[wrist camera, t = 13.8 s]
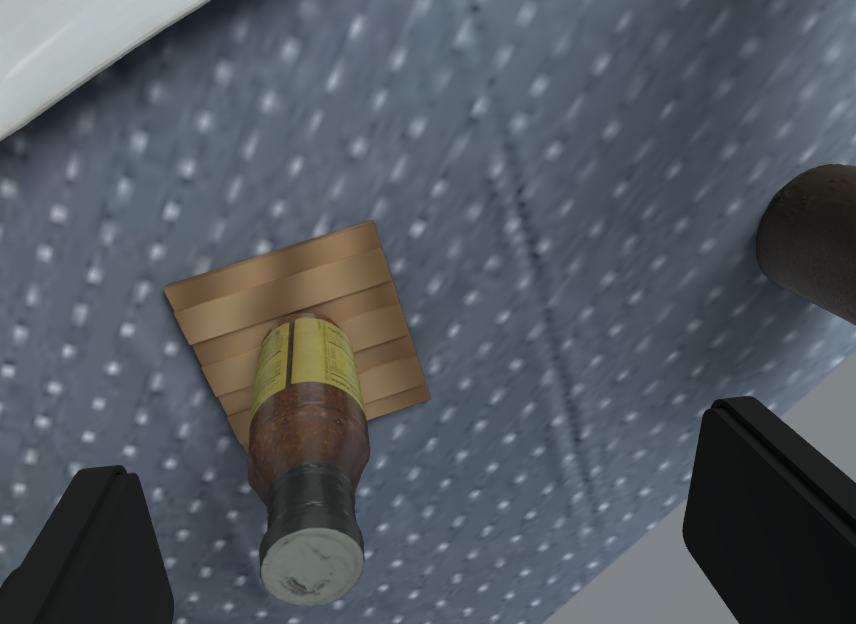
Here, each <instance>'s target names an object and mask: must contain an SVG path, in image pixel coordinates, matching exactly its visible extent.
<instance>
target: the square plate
mask: <svg viewBox="0 0 856 624" xmlns="http://www.w3.org/2000/svg"><path fill="white" fill-rule="evenodd" d="M209 1H211V0H0V141H1V140H3V139H4V138H6V137H7V136H9V135H11V134H13V133H14V132H15V131H17V130H19V129H21V128H22V127H24V126H25V125H27V124H28V123H29V122H30V121H31V120H33V119H34V118H36V117H38V116H39V115H40V114H42V113H43V112H44V111H46V110H47V109H48V108H50V107H51V106H53V105H54V104H56V103H57V102H58V101H60V100H61V99H63V98H64V97H66V96H67V95H69V94H70V93H71V92H73V91H74V90H76V89H77V88H78V87H80V86H81V85H83V84H84V83H86V82H87V81H89V80H90V79H91V78H93V77H94V76H95V75H97V74H98V73H100V72H101V71H103V70H105V69H106V68H108V67H109V66H111V65H112V64H113V63H115V62H116V61H117V60H119V59H121V58H122V57H123V56H124V55H126V54H127V53H129V52H130V51H132V50H133V49H135V48H136V47H138V46H139V45H141V44H142V43H144V42H146V41H147V40H149V39H150V38H152V37H154V36H155V35H157V34H158V33H160V32H161V31H163V30H164V29H166V28H167V27H169V26H171V25H172V24H174V23H176V22H177V21H179V20H180V19H182V18H184V17H185V16H187V15H189V14H190V13H192V12H194V11H195V10H197V9H198V8H200V7H202V6H203V5H205V4H206V3H208V2H209Z"/></svg>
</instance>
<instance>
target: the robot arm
mask: <svg viewBox="0 0 856 624" xmlns="http://www.w3.org/2000/svg"><path fill="white" fill-rule="evenodd" d="M682 532H683V538H684V542H685V544H686V547H687V549H688V550H689V552H690V553H691V555H692V556H693V558H694V559H695V561H696V562H697V564H698V565H699V566H700V568H701V569H702V571H703V572H704V574H705V575H706V576H707V578H708V579H709V581H710V582H711V584H712V585H713V587H714V588H715V589H716V591H717V592H718V594H719V595H720V596H721V598H722V599H723V601H724V602H725V604H726V605H727V607H728V608H729V610H730V611H731V613H732V614H733V615H734V617H735V618H736V620H737V621H738V623H739V624H856V483H855V482H854V481H853V480H852V479H850V478H849V477H848V476H847V475H846V474H845V473H843V472H842V471H841V470H840V469H839V468H837V467H836V466H835V465H834V464H833V463H831V462H830V461H829V460H828V459H827V458H826V457H824V456H823V455H822V454H821V453H820V452H818V451H817V450H816V449H815V448H814V447H812V446H811V445H810V444H809V443H808V442H807V441H806V440H804V439H803V438H802V437H801V436H800V435H798V434H797V433H796V432H795V431H794V430H793V429H791V428H790V427H789V426H788V425H787V424H785V423H784V422H783V421H782V420H781V419H780V418H778V417H777V416H776V415H775V414H774V413H772V412H771V411H770V410H769V409H768V408H767V407H765V406H764V405H763V404H762V403H761V402H759V401H758V400H757V399H755V398H754V397H750V396H744V397H735V398H726V399H718V400H716V401H714V403H713V404H712V406H711V409H708V410H706V411H705V412H704V414H703V417H702V423H701V428H700V434H699V439H698V445H697V451H696V456H695V462H694V467H693V473H692V478H691V484H690V489H689V495H688V501H687V506H686V511H685V517H684V522H683V530H682ZM173 614H174V600H173V595H172V591H171V588H170V584H169V581H168V577H167V574H166V570H165V567H164V563H163V560H162V556H161V553H160V549H159V546H158V542H157V539H156V535H155V532H154V528H153V525H152V521H151V518H150V514H149V511H148V507H147V504H146V500H145V497H144V493H143V490H142V486H141V483H140V480H139V477H138V476H137V474H135V473H129V474H127V472H126V470H125V468H124V467H123V466H121V465H115V466H106V467H96V468H87V469H82V470H79V471H78V472H77V474H76V475H75V476H74V478H73V480H72V481H71V483H70V484H69V486H68V488H67V489H66V491H65V493H64V494H63V496H62V498H61V499H60V501H59V503H58V504H57V506H56V508H55V509H54V511H53V513H52V514H51V516H50V518H49V519H48V521H47V522H46V524H45V526H44V527H43V529H42V531H41V532H40V534H39V536H38V537H37V539H36V541H35V542H34V544H33V546H32V547H31V549H30V551H29V552H28V554H27V556H26V557H25V559H24V560H23V562H22V564H21V565H20V567H18V568H17V569H15V570H14V571H12V572H11V574H10V575H9V576H8V577H7V579H6V580H5V581H4V583H3V584H2V586H1V588H0V624H172V620H173Z"/></svg>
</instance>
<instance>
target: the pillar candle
mask: <svg viewBox="0 0 856 624" xmlns="http://www.w3.org/2000/svg"><path fill="white" fill-rule="evenodd" d="M757 257H758V261H759V264H760V267H761V268H762V270H763V272H764V273H765V275H766V276H767V277H768V278H769V279H770V280H771V281H773V282H774V283H776V284H778V285H779V286H781V287H783V288H785V289H787V290H789V291H791V292H793V293H795V294H797V295H799V296H800V297H802V298H804V299H806V300H808V301H810V302H812V303H814V304H816V305H817V306H819V307H821V308H823V309H825V310H827V311H829V312H831V313H833V314H835V315H837V316H839V317H841V318H843V319H845V320H846V321H848V322H850V323H852V324H854V325H856V167H855V166H846V165H841V164H835V165H833V164H829V165H824V166H819V167H817V168H816V169H815V168H813V169H810V170H808V171H806V172H805V173H803V174H801V175H799V176H798V177H797V178H795V179H794V180H793V181H792V182H790V183H789V184H787V185H786V186H785V187H784V188H783V189H782V190H780V192H779V193H777V195H776V196H775V198H774V199H773V201H772V202H771V204H770V205H769V207H768V209H767V211H766V213H765V214H764V216H763V219H762V221H761V225H760V228H759V231H758V236H757Z"/></svg>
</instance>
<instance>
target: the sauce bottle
mask: <svg viewBox="0 0 856 624" xmlns="http://www.w3.org/2000/svg"><path fill="white" fill-rule="evenodd" d="M248 440H249V448H248V450H249V452H248V461H247V462H248V470H249V472H248V475H249V476H248V481H249V485H250V486H251V487H252V488H253V489H254V490H255V491H256V492H257V494H258V495H259V497H260V498H261V499H262V501H263V502H264V504H265V505H266V506H267V513H268V524H267V525H268V527H267V532H266V534H265V536H264V538H263V540H262V542H261V545H260V550H259V556H260V577H261V579H262V582H263V585H264V587H265V588H266V589H267V590H268V592H269V593H270V594H271V595H272V596H274V597H275V598H276V599H278V600H280V601H283V602H286V603H289V604H293V605H302V606H317V605H325V604H328V603H331V602H333V601H335V600H337V599H339V598H341V597H342V596H344V595H345V594H346V593H347V592H348V591H349V590H350V589H351V588H353V587H354V586H355V585H356V583H357V582H358V580H359V578H360V576H361V574H362V571H363V567H364V543H363V537H362V533H361V531H360V529H359V527H358V525H357V524H356V515H355V509H354V508H355V492H356V489H357V486H358V483H359V480H360V477H361V474H362V472H363V470H364V468H365V466H366V464H367V463H368V460H369V457H370V443H369V434H368V425H367V418H366V412H365V406H364V400H363V395H362V390H361V385H360V380H359V376H358V371H357V366H356V361H355V356H354V351H353V347H352V345H351V342H350V341H349V339H348V337H347V336H346V334H345V332H344V331H342V329H341V328H340V327H339V326H338V325H337V324H336V323H335V322H333V321H332V319H330V318H329V317H327V316H325V315H319V314H315V313H301V314H294V315H289V316H287V317H285V318H283V319H281V320H280V321H278V322H277V323H276V324H275V325H274V326H273V328H272V329H271V330H270V331H269V332H268V333H267V335H266V336H265V338H264V340H263V343H262V346H261V349H260V352H259V356H258V363H257V370H256V378H255V387H254V395H253V402H252V410H251V416H250V424H249V432H248Z"/></svg>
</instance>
